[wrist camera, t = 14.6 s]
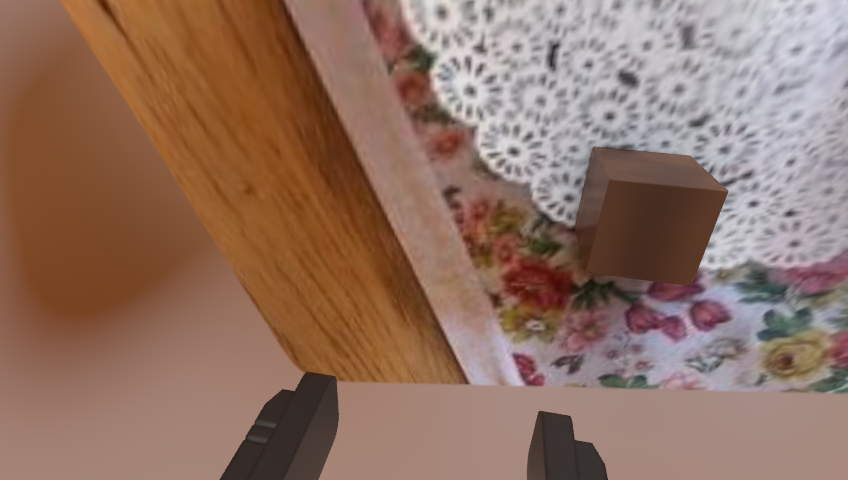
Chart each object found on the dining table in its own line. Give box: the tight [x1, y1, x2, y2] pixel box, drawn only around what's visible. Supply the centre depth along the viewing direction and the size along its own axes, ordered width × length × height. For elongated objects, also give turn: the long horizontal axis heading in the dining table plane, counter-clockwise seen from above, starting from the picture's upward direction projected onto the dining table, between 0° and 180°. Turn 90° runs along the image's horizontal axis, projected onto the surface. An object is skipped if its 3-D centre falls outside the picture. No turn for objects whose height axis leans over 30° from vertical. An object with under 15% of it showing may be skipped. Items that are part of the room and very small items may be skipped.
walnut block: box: [575, 147, 728, 286], centre depth 24 cm, size 5×5×5 cm
